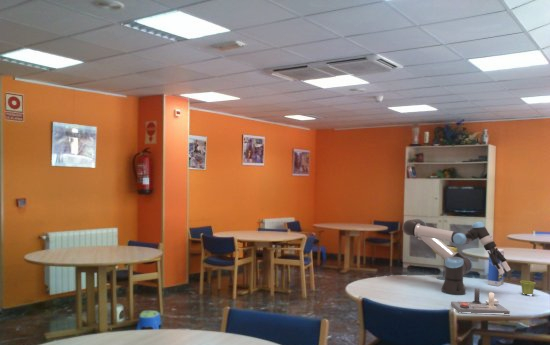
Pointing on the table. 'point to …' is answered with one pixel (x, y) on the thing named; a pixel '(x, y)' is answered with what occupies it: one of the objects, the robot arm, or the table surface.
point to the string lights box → (495, 272)
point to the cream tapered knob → (491, 301)
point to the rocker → (494, 301)
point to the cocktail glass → (444, 261)
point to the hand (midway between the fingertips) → (505, 272)
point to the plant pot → (527, 287)
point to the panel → (478, 307)
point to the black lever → (476, 296)
